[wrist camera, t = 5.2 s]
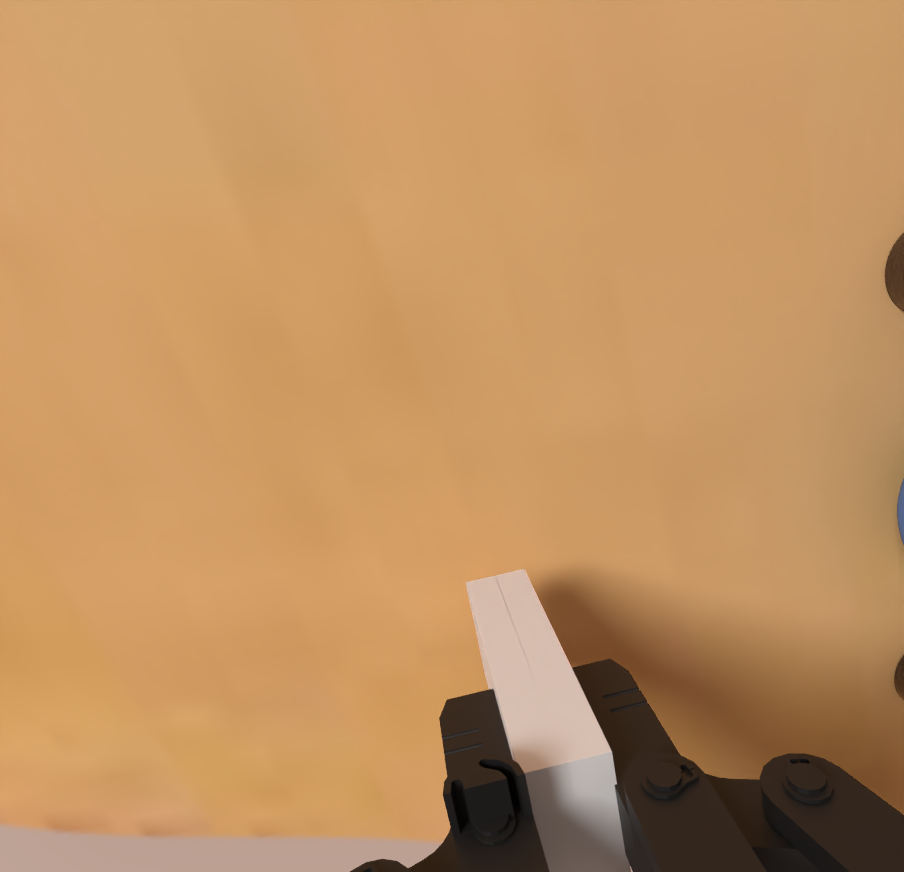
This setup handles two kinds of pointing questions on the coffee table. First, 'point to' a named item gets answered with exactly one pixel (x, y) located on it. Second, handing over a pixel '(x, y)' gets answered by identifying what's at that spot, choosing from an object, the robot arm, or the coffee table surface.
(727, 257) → the coffee table surface
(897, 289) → the post
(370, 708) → the coffee table surface
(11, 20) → the coffee table surface
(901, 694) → the post
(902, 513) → the ball
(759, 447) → the coffee table surface
